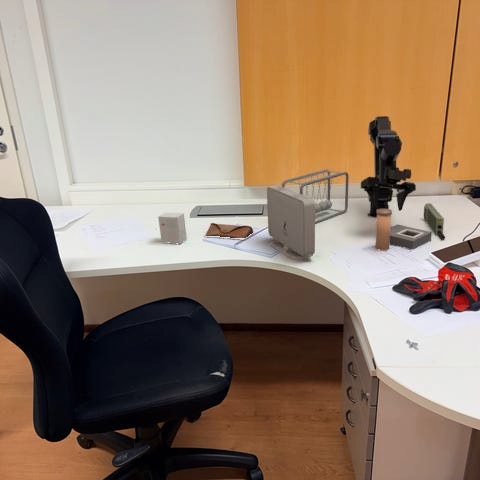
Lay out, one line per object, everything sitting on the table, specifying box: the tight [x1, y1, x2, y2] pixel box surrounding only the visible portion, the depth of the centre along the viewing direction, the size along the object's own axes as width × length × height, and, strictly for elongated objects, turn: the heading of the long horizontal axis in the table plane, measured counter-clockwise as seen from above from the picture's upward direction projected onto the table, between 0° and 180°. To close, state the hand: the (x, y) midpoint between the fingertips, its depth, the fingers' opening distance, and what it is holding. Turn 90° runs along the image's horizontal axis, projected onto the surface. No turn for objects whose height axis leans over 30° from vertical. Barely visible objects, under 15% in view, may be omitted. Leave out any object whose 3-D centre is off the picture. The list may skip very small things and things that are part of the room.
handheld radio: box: [423, 202, 446, 240], centre depth 163 cm, size 7×3×25 cm
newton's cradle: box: [281, 169, 349, 225], centre depth 182 cm, size 30×10×18 cm, turn 132°
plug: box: [375, 208, 393, 251], centre depth 146 cm, size 5×5×13 cm
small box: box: [157, 212, 188, 245], centre depth 165 cm, size 8×6×10 cm
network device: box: [266, 185, 316, 260], centre depth 149 cm, size 26×9×20 cm, turn 23°
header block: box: [390, 224, 433, 250], centre depth 153 cm, size 13×12×4 cm
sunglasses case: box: [204, 222, 254, 238], centre depth 170 cm, size 18×7×7 cm
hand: (388, 209), depth 155 cm, fingers open, 9 cm apart
